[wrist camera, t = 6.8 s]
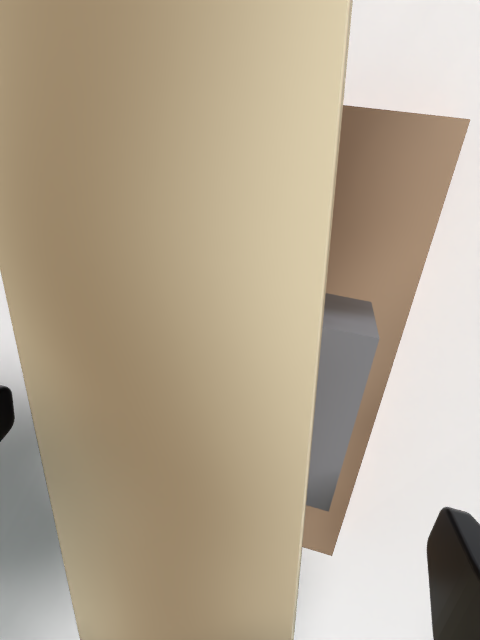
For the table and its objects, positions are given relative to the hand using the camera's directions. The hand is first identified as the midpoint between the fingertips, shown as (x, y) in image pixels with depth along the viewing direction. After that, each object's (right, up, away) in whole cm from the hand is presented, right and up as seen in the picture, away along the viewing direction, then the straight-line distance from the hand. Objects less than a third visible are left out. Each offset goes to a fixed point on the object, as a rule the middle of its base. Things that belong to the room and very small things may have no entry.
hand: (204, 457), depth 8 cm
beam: (+1, +1, +2) cm, 2 cm away
